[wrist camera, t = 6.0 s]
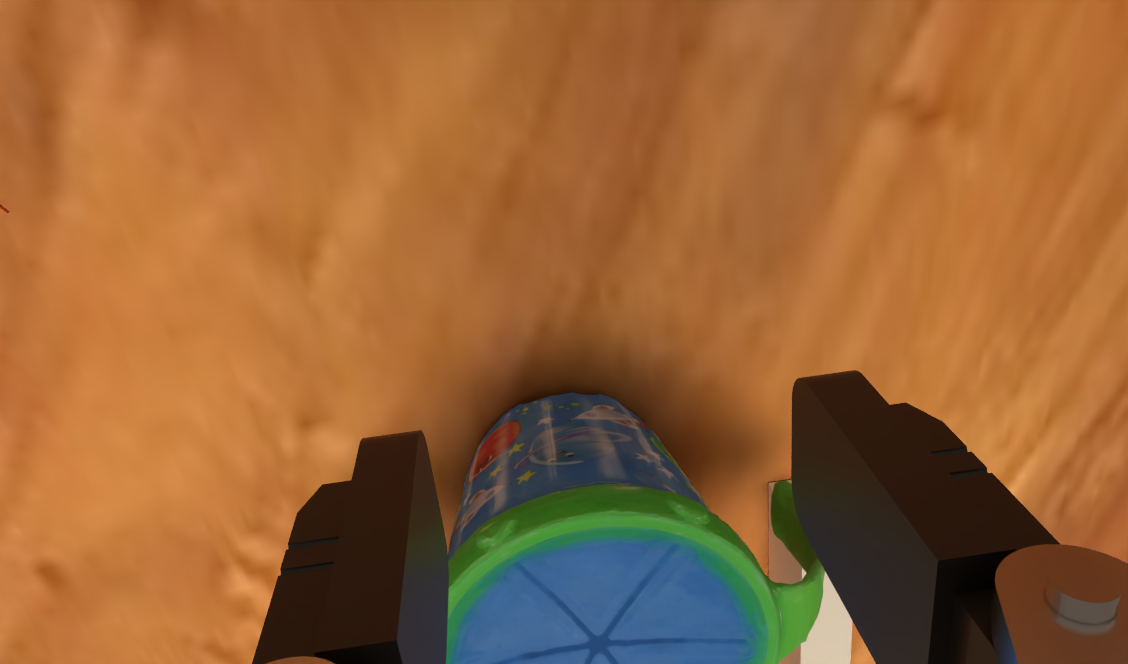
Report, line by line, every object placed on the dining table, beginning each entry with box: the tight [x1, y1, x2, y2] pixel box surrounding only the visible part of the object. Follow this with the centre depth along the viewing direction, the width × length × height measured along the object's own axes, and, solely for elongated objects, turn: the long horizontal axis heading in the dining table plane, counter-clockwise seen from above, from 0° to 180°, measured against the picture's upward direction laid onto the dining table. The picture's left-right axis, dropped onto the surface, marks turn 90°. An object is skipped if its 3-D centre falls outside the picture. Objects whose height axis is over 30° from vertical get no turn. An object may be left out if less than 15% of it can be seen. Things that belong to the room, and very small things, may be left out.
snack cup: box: [446, 392, 825, 664], centre depth 29 cm, size 16×10×10 cm
